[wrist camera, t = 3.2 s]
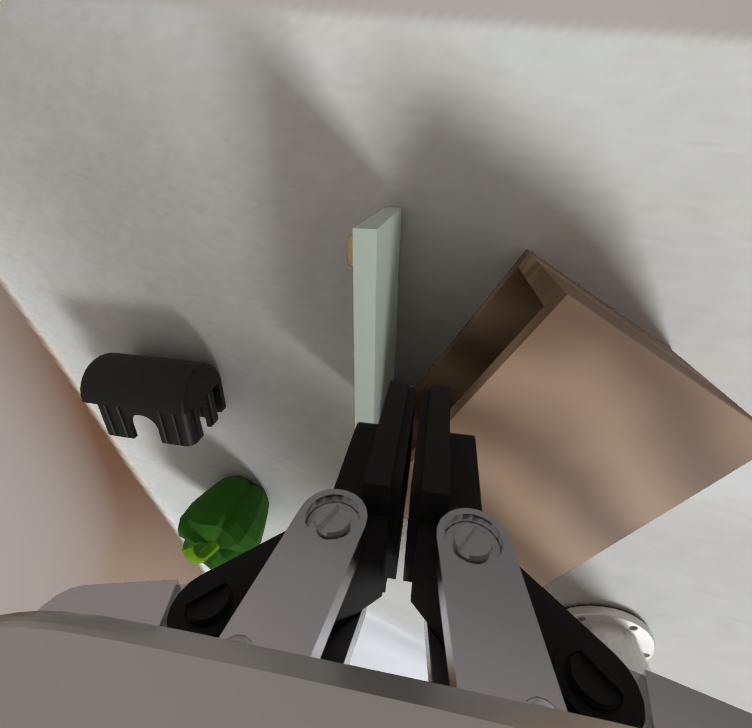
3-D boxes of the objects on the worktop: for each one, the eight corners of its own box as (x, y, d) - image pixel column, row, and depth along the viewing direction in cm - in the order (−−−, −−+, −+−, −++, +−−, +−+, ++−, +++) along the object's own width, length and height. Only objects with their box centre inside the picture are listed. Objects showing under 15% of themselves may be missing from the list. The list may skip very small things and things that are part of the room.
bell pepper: (282, 522, 47) (244, 603, 38) (220, 511, 48) (169, 588, 39) (275, 471, 43) (231, 549, 34) (208, 461, 44) (148, 534, 35)
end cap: (220, 349, 37) (175, 384, 31) (231, 409, 40) (193, 452, 34) (127, 339, 38) (68, 371, 32) (146, 398, 41) (95, 437, 35)
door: (392, 412, 36) (372, 498, 27) (367, 409, 36) (339, 493, 27) (401, 207, 27) (376, 229, 18) (369, 206, 28) (328, 227, 18)
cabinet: (513, 483, 38) (534, 591, 28) (395, 411, 36) (376, 500, 27) (672, 350, 29) (781, 441, 20) (526, 249, 28) (567, 294, 18)
